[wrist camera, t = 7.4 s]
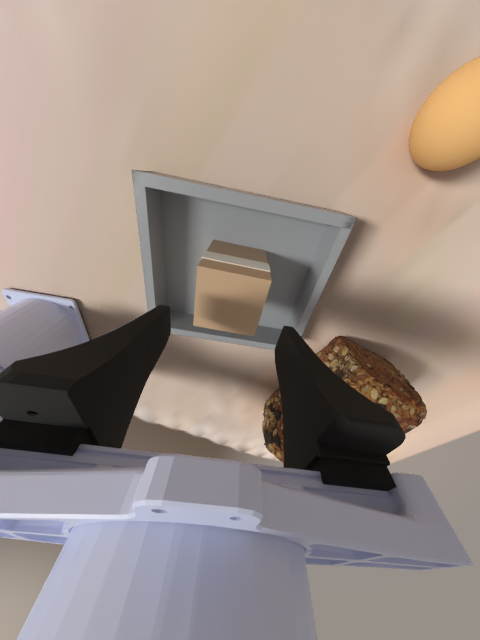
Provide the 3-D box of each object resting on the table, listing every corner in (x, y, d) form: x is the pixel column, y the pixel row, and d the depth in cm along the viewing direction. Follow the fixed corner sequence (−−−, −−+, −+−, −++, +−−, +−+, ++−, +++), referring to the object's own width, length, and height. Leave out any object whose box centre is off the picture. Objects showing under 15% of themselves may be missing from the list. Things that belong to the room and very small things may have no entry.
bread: (305, 418, 37) (321, 485, 29) (257, 400, 34) (260, 469, 26) (395, 359, 27) (456, 435, 19) (337, 328, 25) (381, 401, 17)
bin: (288, 333, 25) (293, 353, 22) (161, 312, 24) (150, 330, 21) (339, 211, 17) (357, 217, 14) (152, 171, 16) (131, 169, 13)
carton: (253, 295, 22) (254, 336, 16) (207, 287, 21) (192, 326, 16) (265, 249, 19) (272, 280, 13) (213, 238, 19) (196, 265, 13)
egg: (437, 178, 16) (504, 178, 12) (378, 164, 15) (425, 159, 11) (496, 84, 13) (612, 39, 9) (425, 64, 12) (510, 8, 8)
